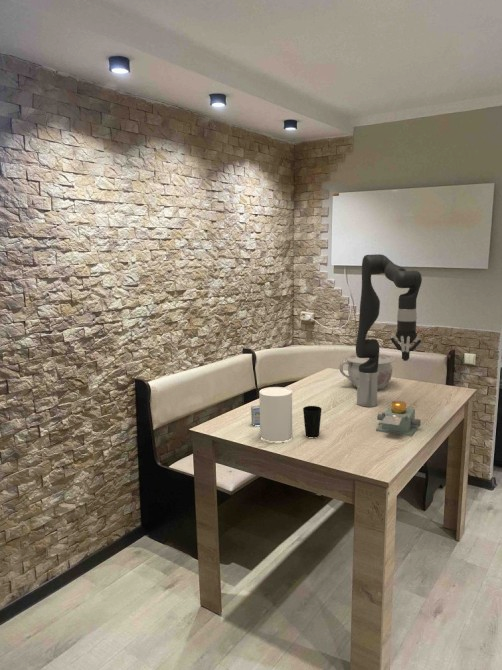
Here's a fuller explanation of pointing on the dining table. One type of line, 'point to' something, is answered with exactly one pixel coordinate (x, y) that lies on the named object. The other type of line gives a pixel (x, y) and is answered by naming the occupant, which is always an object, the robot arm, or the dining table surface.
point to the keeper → (392, 419)
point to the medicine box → (255, 415)
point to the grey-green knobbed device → (406, 425)
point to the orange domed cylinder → (398, 407)
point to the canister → (275, 413)
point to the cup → (312, 420)
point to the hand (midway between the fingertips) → (405, 360)
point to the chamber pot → (354, 362)
